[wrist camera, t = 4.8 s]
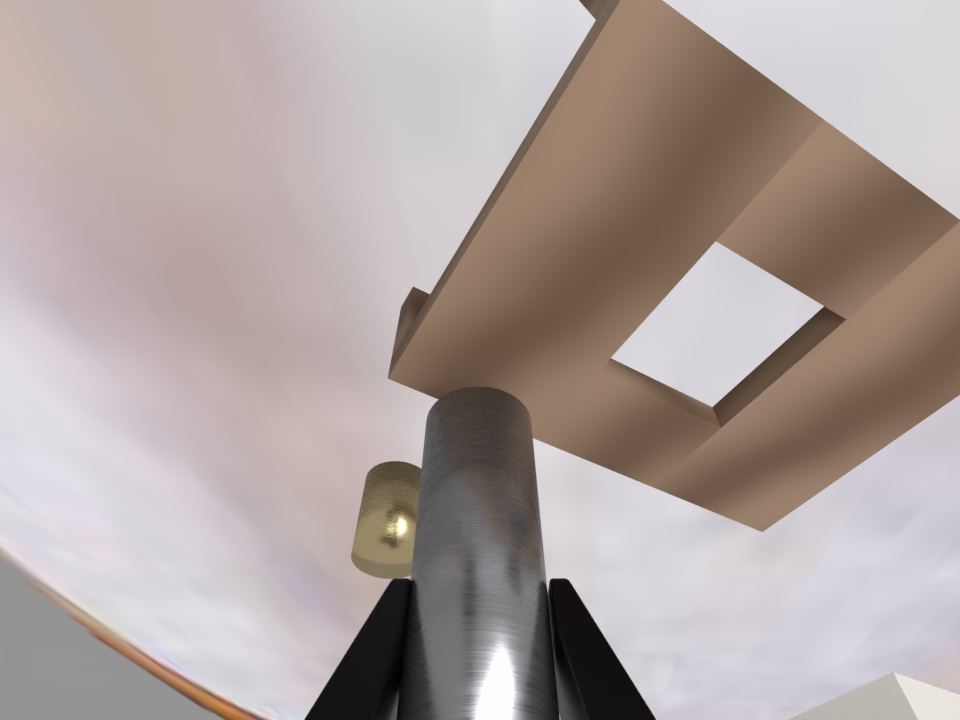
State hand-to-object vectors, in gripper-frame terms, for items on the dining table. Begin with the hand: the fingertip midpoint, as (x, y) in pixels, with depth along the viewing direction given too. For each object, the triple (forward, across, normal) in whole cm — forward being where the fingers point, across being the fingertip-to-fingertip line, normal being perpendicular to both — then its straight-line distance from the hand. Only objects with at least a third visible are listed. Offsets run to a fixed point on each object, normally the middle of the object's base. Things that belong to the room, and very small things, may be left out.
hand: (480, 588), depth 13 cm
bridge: (+11, +7, +1) cm, 13 cm away
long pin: (+5, 0, 0) cm, 5 cm away
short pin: (+11, -4, -10) cm, 15 cm away
